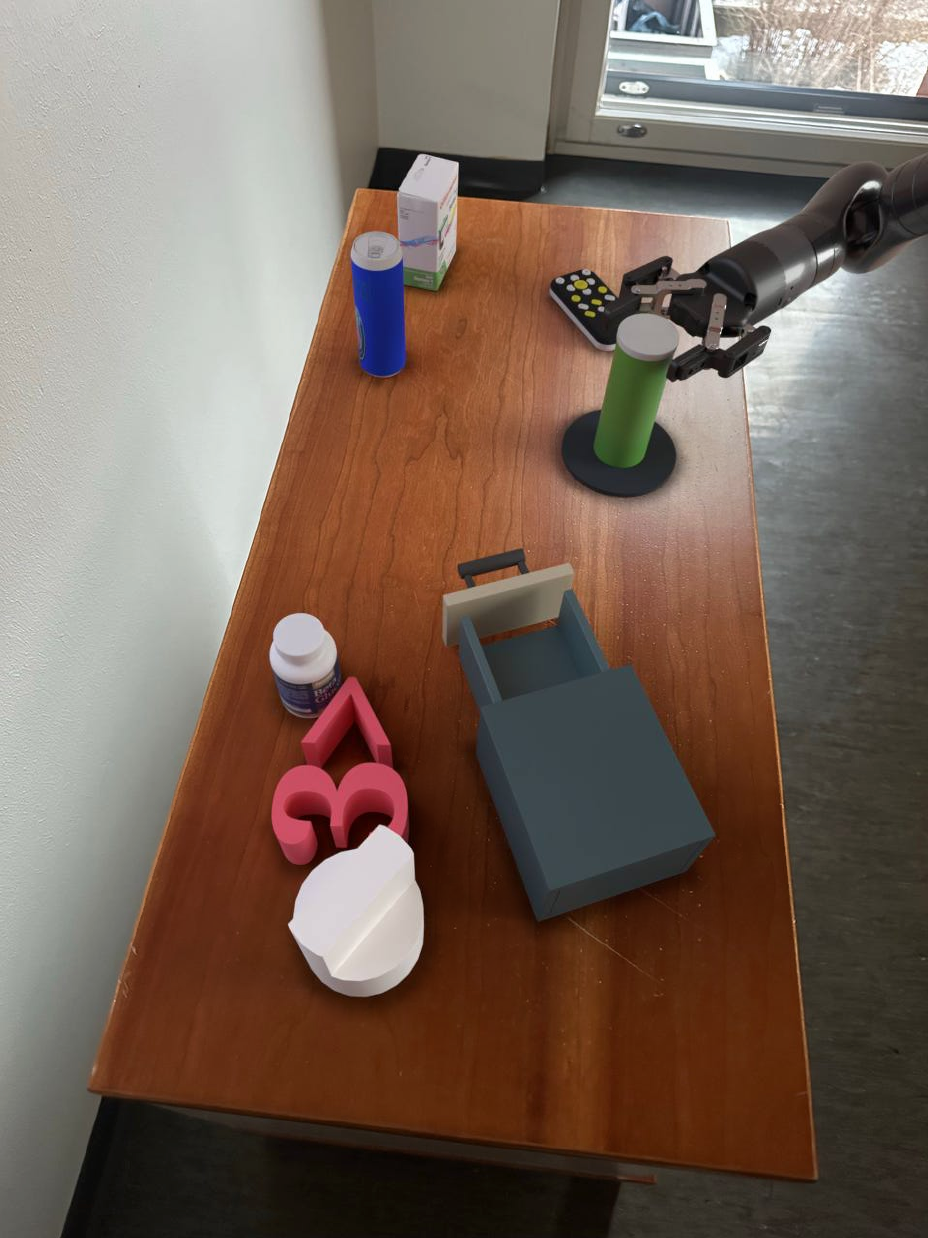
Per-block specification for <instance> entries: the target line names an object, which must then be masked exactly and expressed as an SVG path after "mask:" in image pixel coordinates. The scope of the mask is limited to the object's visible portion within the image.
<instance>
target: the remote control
mask: <svg viewBox="0 0 928 1238" xmlns="http://www.w3.org/2000/svg"><path fill="white" fill-rule="evenodd" d="M549 284H550V285H549V295H550V297H551V298H552V300H554V301H555V302H556V303H557V305H559V307H560V308H561V309H562V311H563V312H565V314H566V315H567V316H568V317H569V318H570V320H571V321H572V322H573V323H574V324H575V325H576V327H577V328H578V329H579V330H580V331H581V332H582V334H583V335H584V336H585V337H586V338H587V339H588V340H589V341H590V343H591V344H592V345H593V346H594V347H595V348H596V349H597V350H599V351H602V352H611V351H614V350H615V346H616V341H617V332H618V327H619V325H618V326H616V327H614V328H613V329H611V330H609V331H606V330H605V329H604V328H603V327H601V322H602V317H603V312H604V307H605V306H606V305H607V304H608V303H610V302H612V301H614V300H615V299H617V298H619V296H617V295H616V294H615V293H614V292H613V291H612V290H611V288H610V287H608V286H607V284H606V283H605V282H604V281H603V280H602V279H601V278H600V277H599V276H598V274H597V273H596V272H594V271H593V270H591V269H589V268H582V269H578V270H575V271H571V272H567V273H565V274H562V275H558V276H557V277H554V278H553V279H552V281H551V282H550V283H549Z"/></svg>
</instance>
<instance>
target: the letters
mask: <svg viewBox="0 0 928 1238" xmlns="http://www.w3.org/2000/svg"><path fill="white" fill-rule="evenodd" d="M355 722H356V725H357V727H358V729H359V731H360V733H361V735H362V736H363V737H362V738H363V739H364V741H365V743H366V745H367V747H368V749H369V750H370V753H371V755H372V757H373V759H374V761H375V762H363V763H360V764H356V765H355V766H354V767H352V768H351V769H349V770H348V771H347V772H346V773H345V775H344V776H343V778H342V779H341V780H340V783H339V786H338V788H337V787H336V785H335V783H334V781H333V779H332V778H331V776H330V775H329V774H328V773H327V772H326V771H325V770H324V769H322V768H323V767H324V765H325V764H326V763H327V761H328V759H329V758H330V757H331V755H332V754H333V753H334V751H335V749H336V748H337V747H338V746H339V744H340V743H341V742H342V740H343V739H344V737H345V735H347V733H348V731H349V730H350V728H351V727H352V726H353V724H354V723H355ZM300 745H301V748H302V751H303V754H304V758H305V761H306V764H304V765H303V764H302V765H298V766H295V767H293V768H291V769H289V770H287V772H286V773H284V775H283V776H282V777H281V778H280V780H279V782H278V783H277V786H276V788H275V791H274V794H273V799H272V804H271V824H272V829H273V832H274V834H275V837H276V838H277V840H278V843H279V845H280V847H281V849H282V852H283V855H284V856H285V858H286V859H287V860H288V862H290V863H291V864H293V865H296V866H303V865H304V866H305V865H307V864H309V863H310V862H312V861H313V859H314V857H315V856H316V854H317V851H318V846H319V845H318V844H319V842H318V839H317V836H316V833H315V830H314V827H313V824H312V821H311V820H302V819H300V818H301V817H304V816H306V815H307V816H308V815H318V816H323V817H326V818H329V819H330V824H329V826H330V831H331V834H332V837H333V841H334V845H335V848H342V849H343V848H348V842H349V841H348V840H349V835H350V834H349V833H350V830H351V827H352V824H353V823H354V822H355V820H356V819H357V818H358V817H359V816H361V815H363V814H365V813H380V814H384V815H387V816H388V817H390V818H391V819H392V820H391V821H390V823H389V824H388V825H387V826H386V827H387V828H389V829H390V830H392V831H393V832H395V833H396V834H398V835H399V836H400V837H401V838H402V839H403V840H404V841H405V842H406V843H407V844H408V843H409V836H410V819H409V818H410V817H409V802H408V793H407V788H406V786H405V783H404V781H403V779H402V777H401V775H400V774H399V773H398V771H396V770H394V766H393V765H394V763H393V755H392V745H391V743H390V741H389V739H388V737H387V735H386V732H385V731H384V729H383V727H382V725H381V723H380V721H379V719H378V718H377V716H376V713H375V711H374V710H373V708H372V706H371V703H370V702H369V700H368V698H367V696H366V694H365V691H364V690H363V688H362V686H361V684H360V682H359V680H358V679H357V677H356V676H348V677H347V679H346V680H345V681H344V683H342V687H341V688H340V690H339V691H338V692H337V694H336V695H335V696H334V698H333V699H332V701H331V702H330V703H329V705H328V706H327V707H326V709H325V710H324V711H323V713H322V714H321V716H320V717H317V720H316V721H315V722H314V724H313V725H312V726H311V728H310V729H309V731H308V732H307V733H306V734H305V736H304V737H303V738H302V740H301V742H300ZM372 832H373V831H370V832H369V834H368V837H369V836H370V834H371V833H372ZM408 845H409V844H408Z"/></svg>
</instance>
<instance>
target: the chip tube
mask: <svg viewBox="0 0 928 1238" xmlns="http://www.w3.org/2000/svg"><path fill="white" fill-rule="evenodd" d="M680 340H681V339H680V333H679V330H678V328H677V326H675V324H674V323H673V322H672V321H671V320H670V319H665V318H663V317H661V316H658V315H654V314H635V315H632V316H629V317H627V318H626V319H624V320H623V321H622V322H621V323H620V325H619V327H618V332H617V341H616V346H615V349H614V350H613V355H612V360H611V364H610V369H609V372H608V373H609V374H608V378H607V382H606V388H605V392H604V396H603V401H602V405H601V409H600V410H601V414H600V419H599V423H598V428H597V432H596V437H595V441H594V451H595V453H596V455H597V457H598V458H599V459H600V460H601V461H602V462H604V463H605V464H607V465H610V466H613V467H617V468H628V467H632V466H635V465H637V464H638V463H639V462H640V461H641V460H642V459H643V458H644V455H645V452H646V449H647V445H648V442H649V438H650V435H651V432H652V428H653V425H654V421H655V422H656V418H657V415H658V410H659V408H660V405H661V401H662V397H663V394H664V391H665V387H666V383H667V381H668V379H667V378H666V374H667V371H668V367H669V364H670V362H671V361H672V360H673V359H674V357H675V353H676V351H677V349H678V346H679V343H680Z"/></svg>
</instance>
